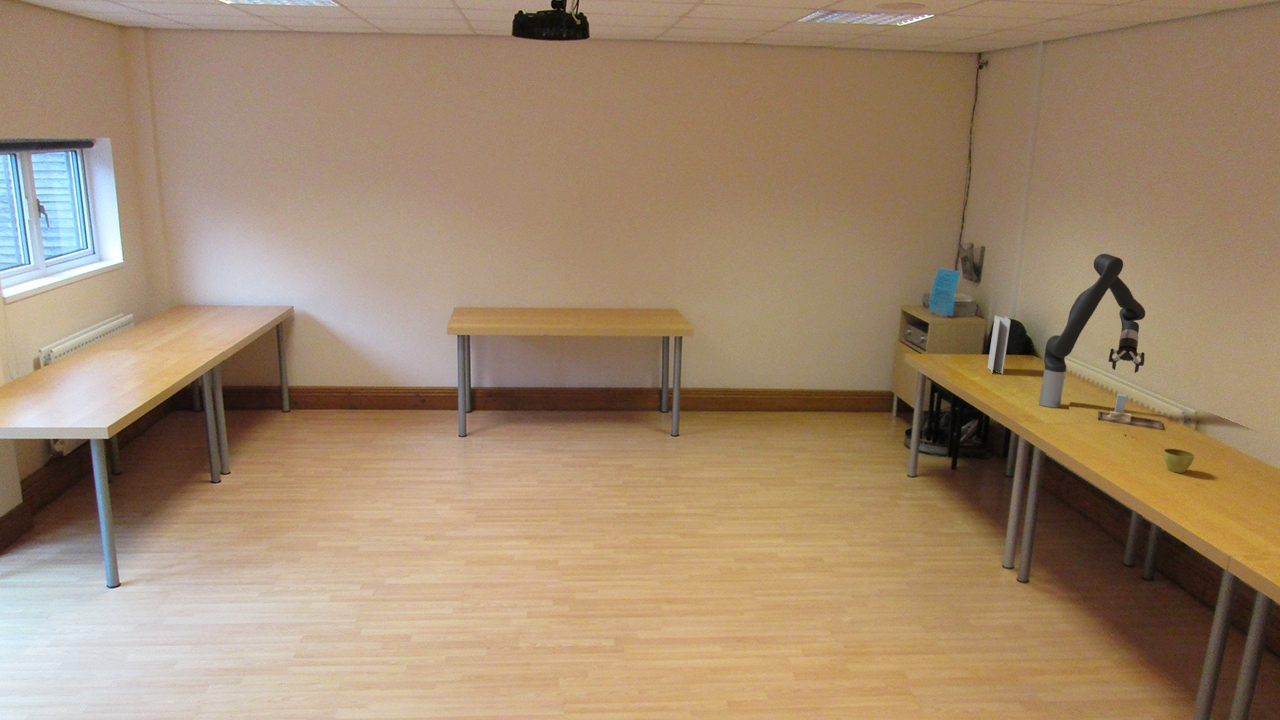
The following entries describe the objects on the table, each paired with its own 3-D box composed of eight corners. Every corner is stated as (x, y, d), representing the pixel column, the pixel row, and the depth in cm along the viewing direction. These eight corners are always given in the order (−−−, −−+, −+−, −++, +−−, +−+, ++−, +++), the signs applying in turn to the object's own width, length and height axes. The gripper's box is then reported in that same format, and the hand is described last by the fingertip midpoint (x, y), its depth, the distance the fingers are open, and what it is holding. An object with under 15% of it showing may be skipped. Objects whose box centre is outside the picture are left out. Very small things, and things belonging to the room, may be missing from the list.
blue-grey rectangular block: (1113, 419, 393) (1118, 395, 391) (1113, 416, 398) (1117, 393, 395) (1122, 420, 392) (1126, 396, 389) (1122, 417, 396) (1126, 394, 394)
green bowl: (1154, 465, 337) (1157, 448, 335) (1179, 466, 337) (1183, 448, 336) (1171, 475, 327) (1175, 456, 325) (1197, 475, 328) (1201, 457, 326)
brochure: (1002, 374, 476) (1010, 320, 469) (992, 374, 477) (999, 319, 470) (997, 369, 489) (1005, 316, 483) (987, 368, 490) (994, 315, 484)
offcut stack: (1106, 420, 390) (1108, 412, 389) (1106, 419, 393) (1108, 410, 392) (1129, 424, 386) (1131, 415, 385) (1129, 422, 389) (1131, 413, 388)
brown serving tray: (1097, 423, 391) (1098, 417, 390) (1097, 416, 402) (1098, 411, 402) (1161, 433, 380) (1163, 427, 380) (1160, 426, 392) (1161, 420, 391)
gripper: (1112, 335, 408) (1108, 363, 400) (1147, 339, 402) (1144, 368, 394) (1110, 344, 414) (1106, 372, 406) (1144, 348, 407) (1141, 377, 400)
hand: (1125, 370), depth 400 cm, fingers open, 8 cm apart
